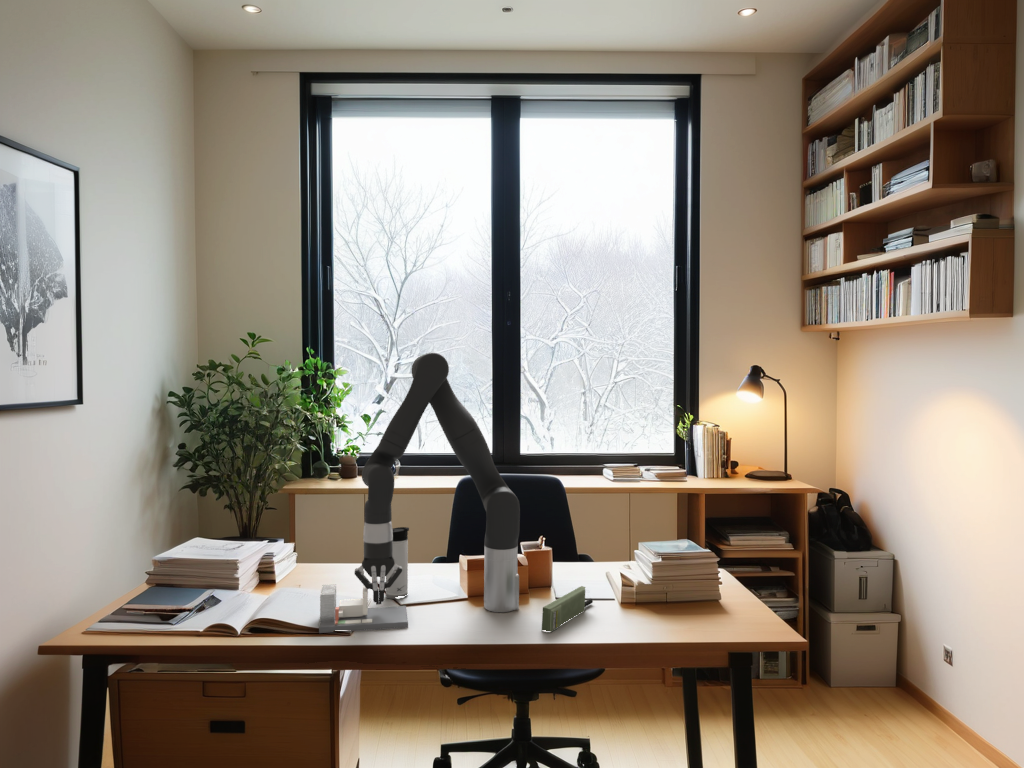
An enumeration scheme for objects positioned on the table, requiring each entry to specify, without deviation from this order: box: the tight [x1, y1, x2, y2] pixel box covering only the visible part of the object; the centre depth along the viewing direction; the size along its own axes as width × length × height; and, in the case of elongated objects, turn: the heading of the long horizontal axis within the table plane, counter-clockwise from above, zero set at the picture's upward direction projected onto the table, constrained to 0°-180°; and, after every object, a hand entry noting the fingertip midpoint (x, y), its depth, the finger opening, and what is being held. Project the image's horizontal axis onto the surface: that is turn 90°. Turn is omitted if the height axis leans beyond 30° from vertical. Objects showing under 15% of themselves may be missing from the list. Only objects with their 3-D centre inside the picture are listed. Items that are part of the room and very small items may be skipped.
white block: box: [338, 584, 369, 618], centre depth 183 cm, size 7×8×6 cm
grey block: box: [319, 584, 337, 623], centre depth 182 cm, size 4×8×7 cm, turn 11°
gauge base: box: [318, 605, 409, 634], centre depth 183 cm, size 22×12×2 cm, turn 101°
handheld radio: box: [541, 585, 594, 632], centre depth 187 cm, size 7×3×25 cm
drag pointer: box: [335, 606, 339, 624], centre depth 178 cm, size 1×4×3 cm, turn 11°
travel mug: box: [385, 526, 410, 600], centre depth 203 cm, size 6×7×20 cm
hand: (378, 603), depth 185 cm, fingers closed
